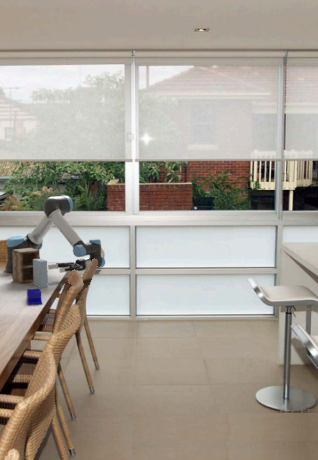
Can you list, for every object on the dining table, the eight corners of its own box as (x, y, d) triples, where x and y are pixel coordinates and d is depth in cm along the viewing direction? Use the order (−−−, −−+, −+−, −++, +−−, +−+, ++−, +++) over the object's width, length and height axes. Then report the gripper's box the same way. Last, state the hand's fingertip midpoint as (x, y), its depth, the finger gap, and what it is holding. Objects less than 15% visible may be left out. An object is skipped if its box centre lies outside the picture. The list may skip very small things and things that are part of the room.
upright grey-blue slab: (32, 285, 367) (31, 259, 365) (39, 284, 370) (38, 258, 368) (40, 287, 359) (39, 261, 357) (47, 286, 363) (46, 260, 360)
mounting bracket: (42, 305, 321) (41, 294, 320) (28, 305, 319) (27, 294, 319) (39, 297, 338) (39, 286, 338) (26, 297, 337) (26, 287, 336)
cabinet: (12, 280, 379) (11, 249, 376) (31, 277, 388) (30, 247, 385) (21, 284, 370) (20, 252, 367) (41, 280, 379) (40, 249, 376)
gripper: (94, 273, 375) (65, 277, 361) (72, 267, 394) (44, 271, 380) (93, 261, 374) (64, 265, 360) (72, 256, 393) (43, 260, 379)
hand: (54, 268), depth 370 cm, fingers open, 13 cm apart
